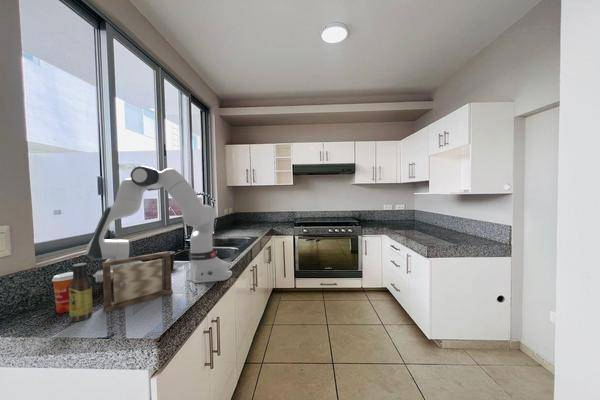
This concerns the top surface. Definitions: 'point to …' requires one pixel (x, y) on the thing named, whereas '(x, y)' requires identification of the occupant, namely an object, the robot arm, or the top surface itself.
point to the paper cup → (62, 291)
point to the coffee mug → (170, 259)
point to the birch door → (138, 280)
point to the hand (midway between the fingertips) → (127, 275)
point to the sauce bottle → (80, 294)
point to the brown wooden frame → (113, 306)
